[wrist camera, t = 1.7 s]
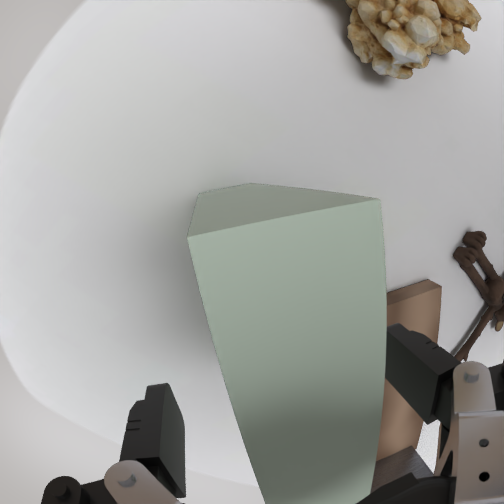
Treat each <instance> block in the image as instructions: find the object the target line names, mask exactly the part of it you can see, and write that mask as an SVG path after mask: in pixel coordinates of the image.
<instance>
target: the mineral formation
mask: <svg viewBox="0 0 504 504" xmlns="http://www.w3.org/2000/svg"><path fill="white" fill-rule="evenodd" d="M345 1H346V3H347V5H348V6H349V8H351V9H352V13H351V15H350V22H351V23H350V24H349V25H348V26H347V28H348V36H347V38H348V39H350V40H351V43H352V45H353V49H354V53H355V54H356V55H357V56H359V57H360V60H361V63H370V62H372V67H373V70H374V71H376V72H377V73H378V74H379V75H382V76H383V75H390V76H391V77H393V78H398V79H408V78H410V77H411V76H412V75H413V72H412V69H413V68H418V69H421V68H425V67H426V66H427V65H428V63H429V58H428V57H427V55H431V52H433V53H437V54H439V55H443V54H446V53H448V52H449V51H451V50H452V49H454V50H458V51H460V52H461V53H462V54H464V55H465V54H466V53H467V52H469V49H470V45H469V44H468V43H467V42H466V41H465V40H464V34H463V32H462V29H463V26H464V27H467V28H470V29H471V30H472V31H473V32H474V31H477V26H478V22H479V21H480V20H481V19H482V18H481V17H480V15H479V13H478V12H477V10H476V9H475V7H474V6H473V4H471V3H469V2H468V0H345ZM373 57H374V58H373Z"/></svg>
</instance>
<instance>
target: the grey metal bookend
mask: <svg viewBox="0 0 504 504" xmlns="http://www.w3.org/2000/svg"><path fill="white" fill-rule="evenodd" d="M410 472H412V473H413V475H414V476H415V477H416V479H418V478H424V477H431V476H433V473H432V471H431V470H430V469H429V467H428V466H427V465H426V463H425V462H424V461H423V460H422V458H421V457H420V456H419V454H418V453H417V452H416V450H415V449H414V448H413V446H412V445H411V446H409V447H407V448H405V449H402V450H400V451H398V452H396V453H394V454H392V455H390V456H387V457H385V458H383V459H381V460H378V461H376V463H375V469H374V475H373V480H372V486H371V491H370V494H371V493H372V492H374V491H375V490H377V489H378V488H379V487H381V486H383V485H385V484H388V483H390V482H392V481H394V480H396V479H398V478H400V477H402V476H404V475H406V474H408V473H410Z"/></svg>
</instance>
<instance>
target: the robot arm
mask: <svg viewBox="0 0 504 504" xmlns="http://www.w3.org/2000/svg"><path fill="white" fill-rule="evenodd" d="M385 378H386V379H387V380H388V381H389V383H390V384H391V385H392V386H393V387H394V388H395V389H396V390H397V391H398V393H399V394H400V395H401V396H402V397H403V398H404V399H405V400H406V401H407V403H408V404H409V405H410V406H411V407H412V408H413V409H414V410H415V411H416V413H417V414H418V415H419V416H420V417H421V418H422V419H423V420H424V422H425V423H426V424H427V425H428V424H430V423H432V422H433V421H435V420H437V419H438V420H439V421H440V422H441V423H440V427H439V438H438V449H437V459H436V466H435V471H434V474H433V476H431V477H424V478H418V479H416V477H415V476H414V475H413V473H412V472H410V473H408V474H406V475H404V476H402V477H400V478H398V479H396V480H394V481H392V482H390V483H388V484H385V485H383V486H381V487H379V488H378V489H377V490H375V491H374V492H372V493H371V494H370V495H368V496H367V497H365V498H364V499H362V500H361V501H359V502H358V503H356V504H504V361H503V363H502V364H499V365H496V366H493V367H489V368H487V367H486V366H485V365H483V364H481V363H479V362H474V361H469V362H464V363H461V362H460V361H459V360H457V359H456V358H455V357H453V356H452V355H451V354H449V353H448V352H447V351H445V350H444V349H443V348H442V347H439V345H438V344H436V343H435V342H434V341H433V342H432V340H431V339H430V338H428V337H427V336H426V335H424V334H422V333H419V332H416V331H413V330H411V331H409V330H408V329H407V328H405V327H404V326H403V325H401V324H400V323H395V324H393V325H390V326H387V332H386V364H385ZM185 485H186V484H185V426H184V420H183V417H182V414H181V411H180V409H179V407H178V404H177V402H176V399H175V397H174V395H173V392H172V390H171V387H170V385H169V384H168V383H164V384H157V385H150V386H147V390H146V395H145V400H140V401H137V402H136V403H135V404H134V406H133V407H132V408H131V410H130V412H129V416H128V423H127V425H126V431H125V435H124V440H123V445H122V450H121V455H120V460H119V462H118V463H116V464H114V465H113V466H111V467H110V468H109V469H108V470H107V472H106V474H105V476H104V479H102V480H99V481H95V482H91V483H87V484H83V485H80V483H79V482H78V481H77V480H75V479H74V478H72V477H69V476H61V477H57V478H55V479H53V480H52V481H50V483H48V485H47V486H46V488H45V490H44V494H43V498H42V502H41V504H182V503H181V502H179V500H177V499H176V498H184V497H186V486H185ZM183 504H184V503H183Z"/></svg>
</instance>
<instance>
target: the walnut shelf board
mask: <svg viewBox="0 0 504 504" xmlns="http://www.w3.org/2000/svg"><path fill="white" fill-rule="evenodd" d="M441 292H442V286H440V285H438V284H436V283H434V282H432V281H430V280H428V279H427V280H425V281H422V282H419V283H416V284H413V285H410V286H407V287H404V288H401V289H398V290H395V291H392V292H388V293H386V301H387V326H390V325H393V324H395V323H400V324H401V325H403V326H404V327H405V328H407V329H408V330H409V331H411V330H413V331H416V332H419V333H422V334H424V335H426V336H427V337H428V338H430V339H431V340H432V342H433V341H434V342H435V343H436V344H437V340H438V331H439V321H440V308H441ZM423 421H424V420H423V419H422V418H421V417H420V416H419V415H418V414H417V413H416V411H415V410H414V409H413V408H412V407H411V406H410V405H409V404H408V403H407V401H406V400H405V399H404V398H403V397H402V396H401V395H400V394H399V393H398V391H397V390H396V389H395V388H394V387H393V386H392V385H391V384H390V383H389V381H388V380H387V379H386V378H385V381H384V395H383V407H382V417H381V426H380V434H379V442H378V449H377V456H376V461H378V460H381V459H383V458H385V457H387V456H390V455H392V454H394V453H396V452H398V451H400V450H402V449H405V448H407V447H409V446H411V445H412V446H413V448H414V449H416V448H417V445H418V441H419V437H420V433H421V429H422V425H423Z"/></svg>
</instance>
